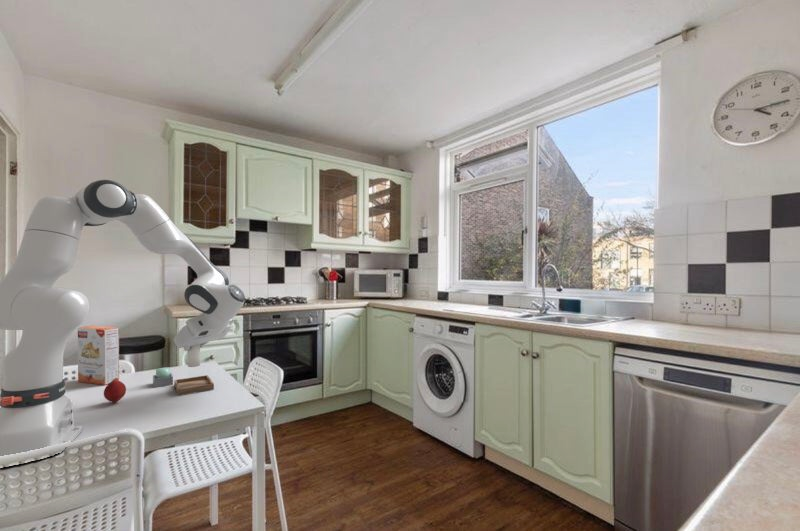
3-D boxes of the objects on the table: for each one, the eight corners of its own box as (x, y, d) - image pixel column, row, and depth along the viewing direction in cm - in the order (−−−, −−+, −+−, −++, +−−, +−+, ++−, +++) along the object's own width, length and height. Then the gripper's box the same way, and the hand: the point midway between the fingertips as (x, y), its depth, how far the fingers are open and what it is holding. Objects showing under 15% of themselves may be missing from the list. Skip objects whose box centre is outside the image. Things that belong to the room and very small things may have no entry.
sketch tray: (213, 389, 138) (213, 383, 138) (177, 395, 132) (177, 389, 132) (207, 380, 149) (207, 375, 149) (174, 385, 142) (174, 380, 142)
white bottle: (201, 365, 140) (201, 333, 140) (188, 367, 137) (188, 334, 137) (199, 363, 143) (199, 331, 143) (186, 365, 141) (186, 332, 141)
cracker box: (76, 382, 146) (76, 327, 146) (93, 377, 152) (93, 324, 151) (103, 386, 142) (103, 329, 142) (119, 381, 147) (119, 326, 147)
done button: (170, 380, 144) (170, 369, 144) (156, 382, 141) (156, 371, 141) (169, 377, 147) (169, 366, 147) (155, 379, 145) (155, 368, 145)
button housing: (172, 384, 143) (172, 376, 143) (153, 387, 140) (153, 379, 140) (171, 380, 148) (171, 372, 148) (152, 383, 145) (152, 375, 145)
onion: (114, 406, 121) (114, 381, 121) (99, 405, 122) (98, 380, 122) (130, 400, 127) (130, 376, 127) (115, 399, 128) (115, 375, 128)
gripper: (230, 312, 147) (211, 336, 151) (183, 320, 128) (162, 347, 132) (239, 325, 146) (219, 348, 149) (193, 334, 127) (171, 361, 130)
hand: (192, 348), depth 141 cm, fingers closed on white bottle, 4 cm apart
